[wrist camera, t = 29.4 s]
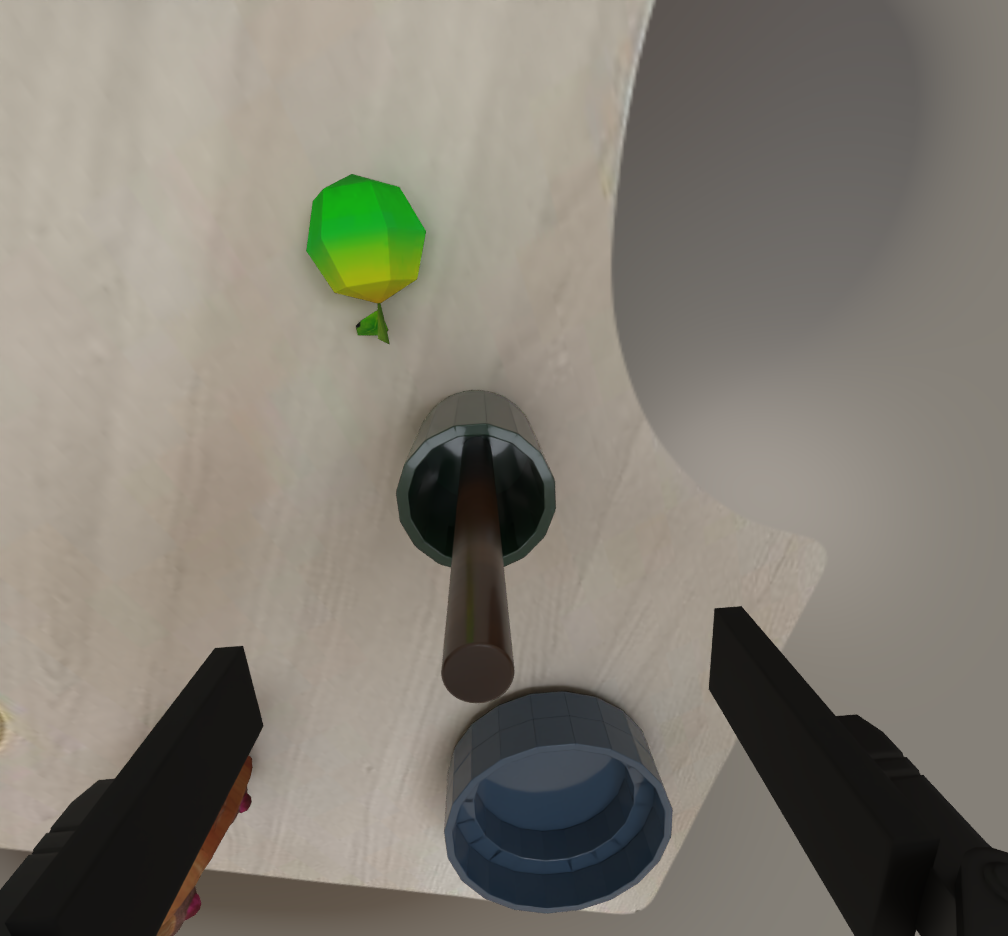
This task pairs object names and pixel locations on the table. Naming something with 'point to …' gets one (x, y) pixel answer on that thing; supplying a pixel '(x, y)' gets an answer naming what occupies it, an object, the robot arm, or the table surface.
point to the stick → (477, 588)
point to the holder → (437, 470)
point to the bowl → (554, 804)
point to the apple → (365, 243)
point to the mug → (208, 853)
